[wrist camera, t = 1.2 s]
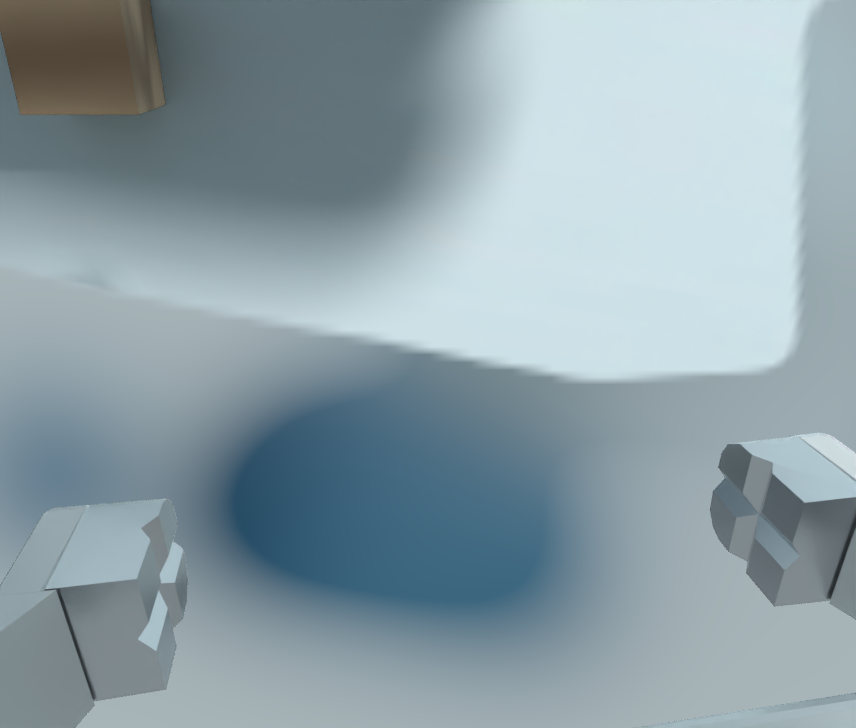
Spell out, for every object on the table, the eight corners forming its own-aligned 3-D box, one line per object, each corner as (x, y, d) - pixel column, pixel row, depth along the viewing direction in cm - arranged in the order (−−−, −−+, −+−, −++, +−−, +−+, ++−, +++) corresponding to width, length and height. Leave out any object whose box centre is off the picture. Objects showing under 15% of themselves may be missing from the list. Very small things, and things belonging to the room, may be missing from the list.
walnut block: (43, -4, 32) (-11, -15, 27) (150, -2, 33) (117, -12, 28) (66, 104, 34) (20, 114, 29) (165, 104, 35) (138, 114, 30)
